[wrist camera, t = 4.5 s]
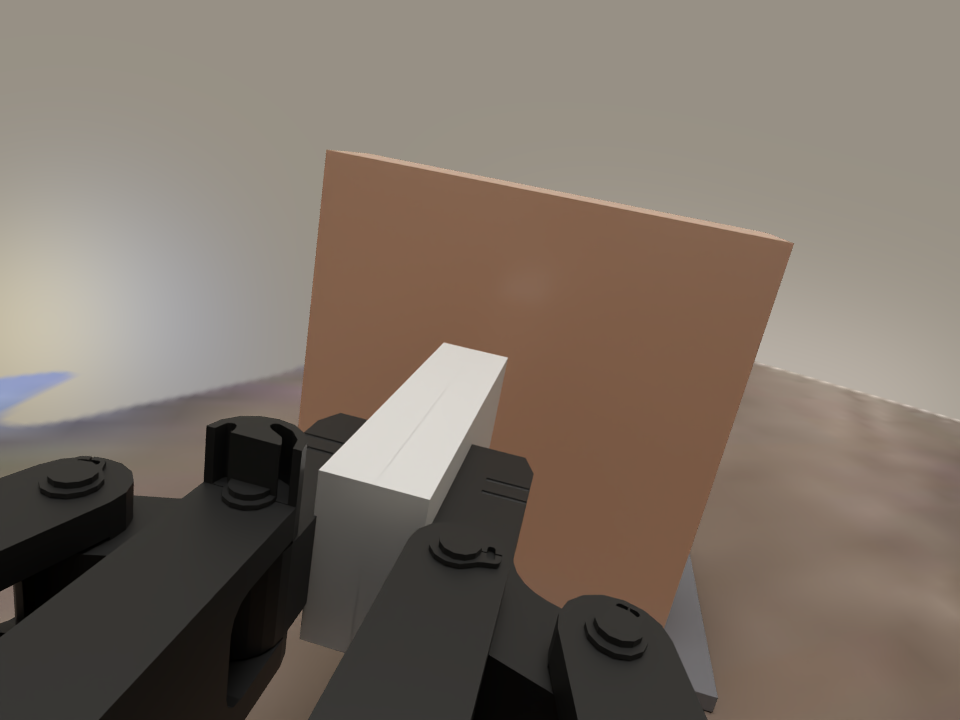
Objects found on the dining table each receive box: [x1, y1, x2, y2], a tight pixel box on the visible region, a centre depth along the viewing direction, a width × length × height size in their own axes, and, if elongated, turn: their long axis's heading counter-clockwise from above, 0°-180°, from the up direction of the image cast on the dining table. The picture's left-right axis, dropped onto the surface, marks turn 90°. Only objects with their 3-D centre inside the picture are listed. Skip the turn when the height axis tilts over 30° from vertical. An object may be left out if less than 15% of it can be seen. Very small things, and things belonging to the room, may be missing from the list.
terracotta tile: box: [298, 150, 794, 628], centre depth 19 cm, size 12×3×12 cm, turn 78°
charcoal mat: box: [664, 553, 718, 712], centre depth 26 cm, size 15×16×1 cm
